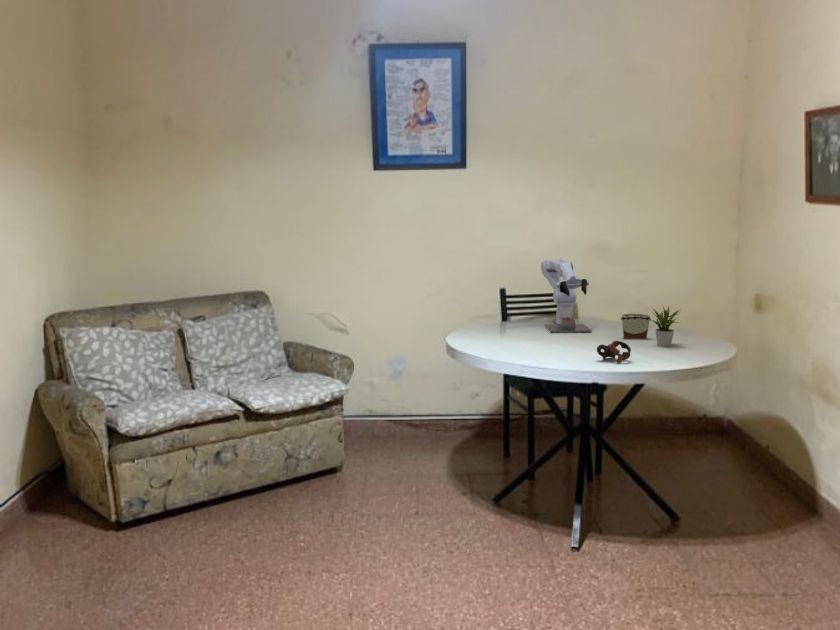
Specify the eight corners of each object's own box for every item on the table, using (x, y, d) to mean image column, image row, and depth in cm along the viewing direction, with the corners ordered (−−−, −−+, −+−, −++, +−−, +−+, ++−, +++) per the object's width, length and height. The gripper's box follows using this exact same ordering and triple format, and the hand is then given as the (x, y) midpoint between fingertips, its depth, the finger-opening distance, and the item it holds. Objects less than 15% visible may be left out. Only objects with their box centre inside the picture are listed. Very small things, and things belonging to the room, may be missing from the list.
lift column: (563, 326, 339) (563, 308, 337) (570, 326, 339) (570, 308, 337) (564, 327, 335) (564, 309, 334) (571, 327, 335) (572, 309, 334)
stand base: (544, 326, 346) (544, 314, 345) (583, 326, 346) (583, 314, 345) (550, 333, 328) (550, 320, 328) (591, 332, 328) (591, 320, 327)
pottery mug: (621, 358, 277) (630, 341, 273) (626, 374, 270) (635, 357, 265) (590, 351, 276) (599, 333, 271) (595, 367, 268) (604, 349, 263)
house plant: (689, 349, 290) (691, 307, 287) (653, 349, 291) (654, 307, 288) (679, 342, 304) (680, 302, 302) (644, 342, 305) (646, 303, 302)
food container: (647, 336, 318) (648, 313, 316) (650, 339, 312) (651, 315, 310) (617, 336, 319) (618, 313, 317) (620, 339, 313) (620, 315, 311)
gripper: (554, 272, 342) (561, 287, 330) (585, 269, 342) (593, 284, 331) (554, 285, 346) (560, 300, 334) (584, 282, 346) (592, 297, 335)
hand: (577, 293), depth 333 cm, fingers open, 7 cm apart
